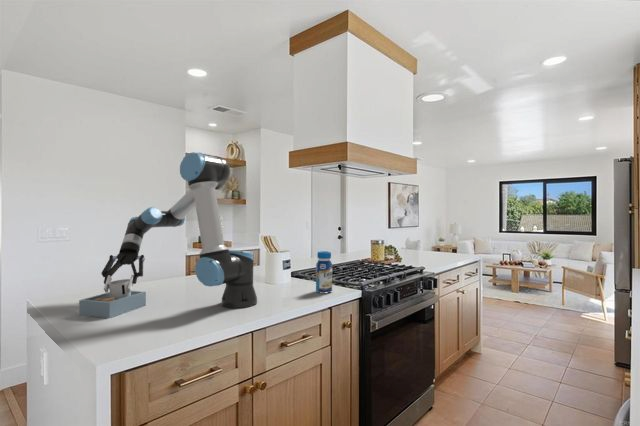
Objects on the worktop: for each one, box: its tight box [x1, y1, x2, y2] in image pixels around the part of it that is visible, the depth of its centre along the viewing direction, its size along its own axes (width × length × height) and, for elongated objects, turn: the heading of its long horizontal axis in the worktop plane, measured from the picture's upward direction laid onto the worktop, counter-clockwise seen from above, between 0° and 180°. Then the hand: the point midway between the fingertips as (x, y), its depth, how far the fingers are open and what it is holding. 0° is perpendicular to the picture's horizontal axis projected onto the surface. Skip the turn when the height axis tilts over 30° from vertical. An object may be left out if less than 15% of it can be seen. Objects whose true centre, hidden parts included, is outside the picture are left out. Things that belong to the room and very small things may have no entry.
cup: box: [108, 278, 131, 300], centre depth 149 cm, size 8×8×10 cm
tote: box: [78, 290, 147, 319], centre depth 146 cm, size 14×19×6 cm
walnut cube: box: [94, 297, 115, 302], centre depth 141 cm, size 5×5×5 cm
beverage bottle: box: [315, 250, 334, 294], centre depth 181 cm, size 8×8×20 cm
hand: (117, 290), depth 146 cm, fingers closed on cup, 8 cm apart
